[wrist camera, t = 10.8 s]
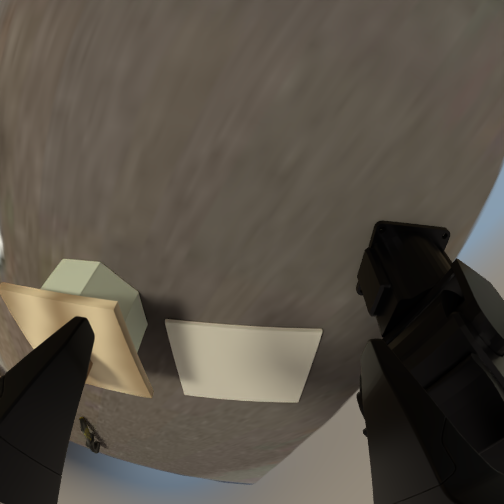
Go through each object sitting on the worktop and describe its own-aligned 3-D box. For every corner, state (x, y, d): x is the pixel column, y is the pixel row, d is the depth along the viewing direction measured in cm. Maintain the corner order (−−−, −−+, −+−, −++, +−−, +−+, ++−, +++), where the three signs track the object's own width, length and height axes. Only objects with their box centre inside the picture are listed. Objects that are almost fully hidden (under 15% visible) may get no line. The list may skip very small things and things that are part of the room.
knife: (81, 403, 48) (73, 422, 44) (88, 406, 48) (80, 425, 44) (95, 442, 59) (91, 457, 55) (101, 444, 59) (96, 459, 55)
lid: (117, 301, 18) (90, 359, 14) (153, 391, 25) (142, 435, 21) (2, 282, 18) (-28, 322, 14) (53, 367, 25) (37, 402, 21)
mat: (321, 328, 26) (322, 332, 26) (298, 399, 34) (298, 402, 34) (165, 318, 26) (164, 322, 26) (185, 392, 34) (184, 394, 34)
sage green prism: (131, 264, 23) (107, 308, 19) (153, 343, 28) (140, 384, 24) (40, 256, 23) (12, 291, 19) (73, 328, 29) (56, 363, 25)
